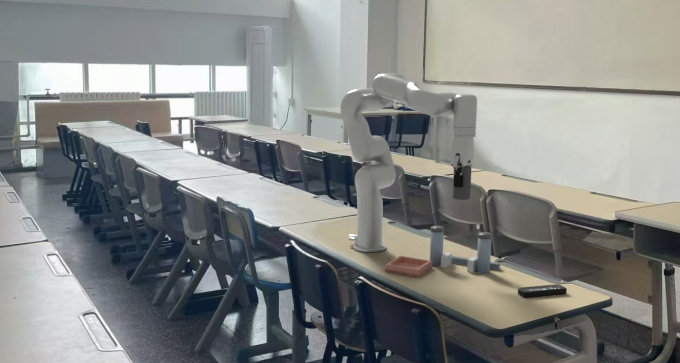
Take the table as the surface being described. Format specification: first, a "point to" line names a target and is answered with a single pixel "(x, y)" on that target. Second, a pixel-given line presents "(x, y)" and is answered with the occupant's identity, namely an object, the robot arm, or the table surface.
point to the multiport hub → (542, 291)
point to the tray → (408, 266)
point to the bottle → (464, 191)
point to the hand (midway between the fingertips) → (461, 184)
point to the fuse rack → (474, 263)
